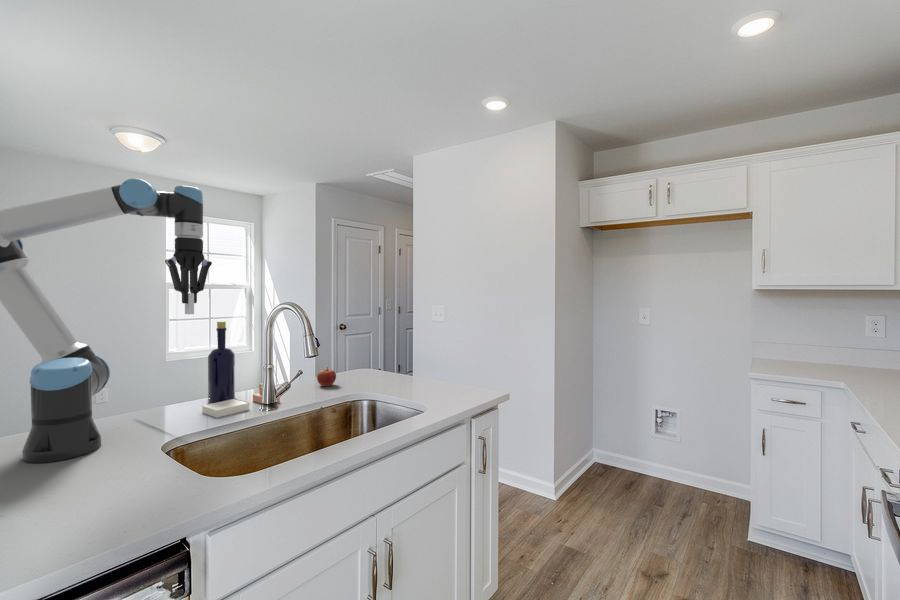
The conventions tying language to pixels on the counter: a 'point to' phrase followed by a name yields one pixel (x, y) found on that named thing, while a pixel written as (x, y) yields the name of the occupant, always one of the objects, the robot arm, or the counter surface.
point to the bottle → (221, 369)
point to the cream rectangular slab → (225, 407)
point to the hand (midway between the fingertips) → (189, 314)
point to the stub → (259, 396)
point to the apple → (326, 377)
